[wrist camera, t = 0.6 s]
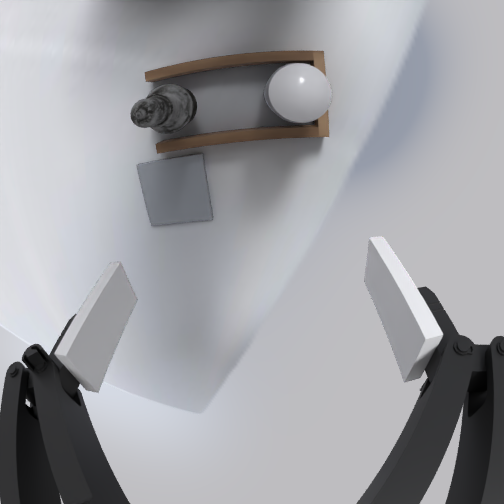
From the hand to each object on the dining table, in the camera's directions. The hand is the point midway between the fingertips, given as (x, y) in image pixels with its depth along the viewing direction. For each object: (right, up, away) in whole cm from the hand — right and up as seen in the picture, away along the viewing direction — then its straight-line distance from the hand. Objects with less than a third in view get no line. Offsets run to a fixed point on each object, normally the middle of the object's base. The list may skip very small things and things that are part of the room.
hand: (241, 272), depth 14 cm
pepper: (+5, +20, +15) cm, 25 cm away
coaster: (-10, +9, +22) cm, 25 cm away
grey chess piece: (-9, +19, +16) cm, 26 cm away
